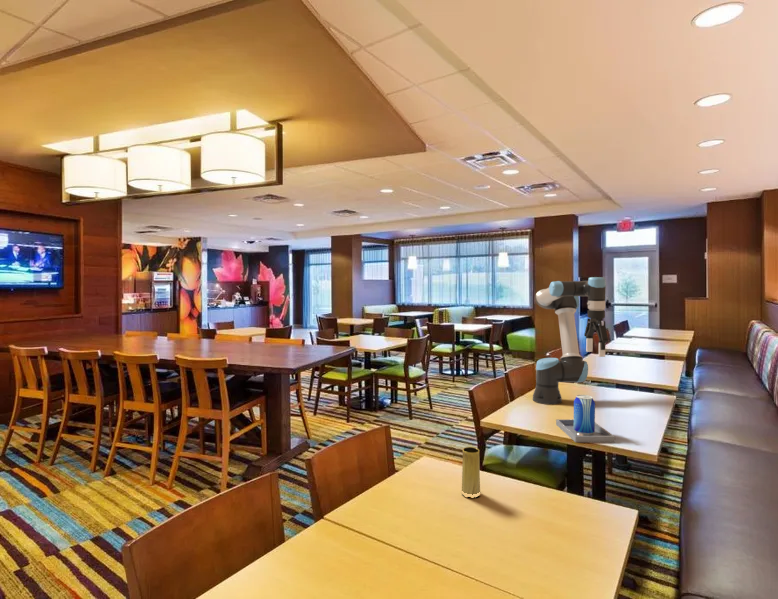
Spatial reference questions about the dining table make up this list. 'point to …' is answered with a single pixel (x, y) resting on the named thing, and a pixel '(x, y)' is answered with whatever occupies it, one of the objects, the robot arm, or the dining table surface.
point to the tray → (597, 436)
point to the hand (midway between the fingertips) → (595, 354)
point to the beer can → (584, 415)
